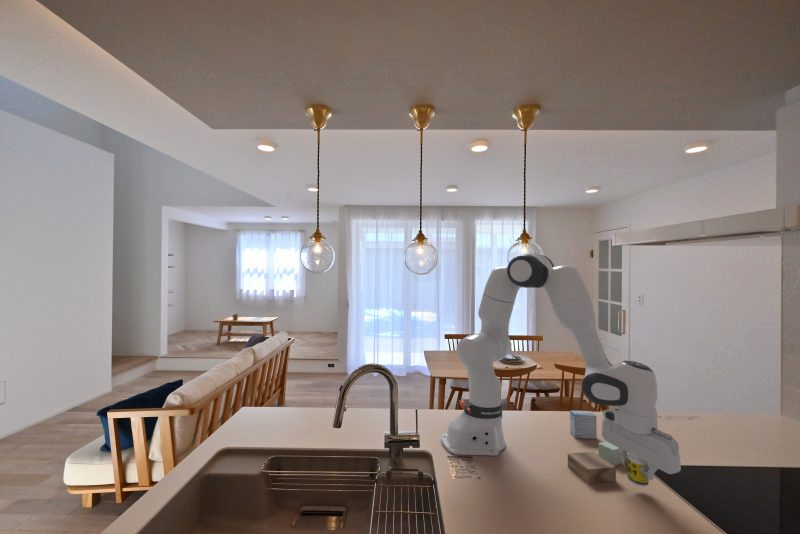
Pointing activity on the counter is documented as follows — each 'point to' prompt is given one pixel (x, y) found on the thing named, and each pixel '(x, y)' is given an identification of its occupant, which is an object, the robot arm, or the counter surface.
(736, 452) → the counter surface
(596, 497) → the counter surface
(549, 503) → the counter surface
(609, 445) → the sage block
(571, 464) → the walnut block
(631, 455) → the supplement bottle
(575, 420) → the medicine box
